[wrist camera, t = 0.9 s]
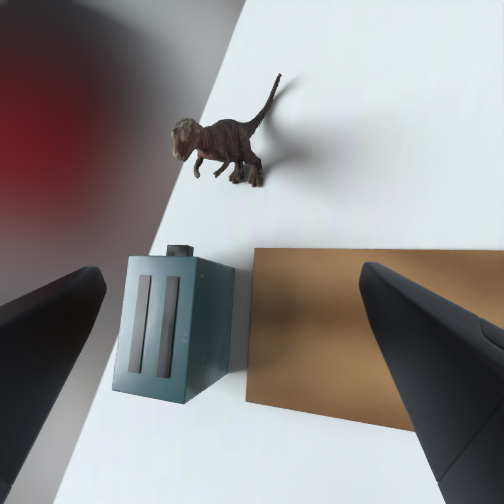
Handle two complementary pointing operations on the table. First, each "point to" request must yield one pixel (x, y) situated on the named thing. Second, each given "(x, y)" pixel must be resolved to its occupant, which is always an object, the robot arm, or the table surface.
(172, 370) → the toaster
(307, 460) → the table surface
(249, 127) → the dinosaur model
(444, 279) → the mat
